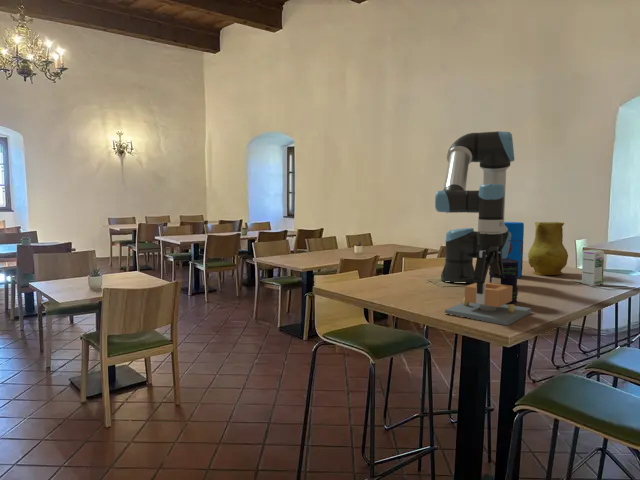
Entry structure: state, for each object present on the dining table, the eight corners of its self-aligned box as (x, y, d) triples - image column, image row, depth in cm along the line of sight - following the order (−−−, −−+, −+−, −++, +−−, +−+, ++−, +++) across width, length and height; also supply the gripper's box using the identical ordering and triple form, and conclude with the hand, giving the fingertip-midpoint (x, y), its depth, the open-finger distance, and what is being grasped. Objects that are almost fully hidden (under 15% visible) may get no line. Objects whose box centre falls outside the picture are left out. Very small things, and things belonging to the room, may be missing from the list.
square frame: (464, 301, 153) (464, 286, 152) (479, 296, 161) (479, 281, 160) (498, 307, 145) (499, 291, 145) (511, 300, 153) (512, 285, 153)
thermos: (519, 278, 215) (521, 223, 213) (495, 276, 221) (496, 222, 218) (523, 275, 224) (525, 222, 222) (499, 273, 230) (501, 221, 228)
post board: (444, 314, 153) (445, 292, 152) (471, 303, 167) (472, 283, 167) (507, 325, 139) (508, 302, 139) (530, 312, 154) (531, 291, 153)
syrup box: (593, 285, 198) (595, 251, 196) (581, 283, 203) (582, 249, 202) (603, 284, 200) (604, 250, 198) (590, 282, 205) (591, 249, 204)
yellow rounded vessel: (520, 271, 235) (522, 221, 232) (555, 270, 237) (557, 220, 234) (539, 277, 218) (542, 223, 215) (577, 276, 220) (580, 222, 217)
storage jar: (523, 303, 167) (525, 261, 165) (499, 305, 164) (501, 262, 162) (505, 297, 176) (506, 257, 175) (482, 299, 173) (483, 259, 172)
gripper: (486, 236, 140) (484, 309, 142) (515, 231, 157) (513, 296, 159) (462, 234, 145) (460, 305, 147) (493, 229, 162) (491, 293, 164)
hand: (488, 300), depth 153 cm, fingers closed on square frame, 11 cm apart
